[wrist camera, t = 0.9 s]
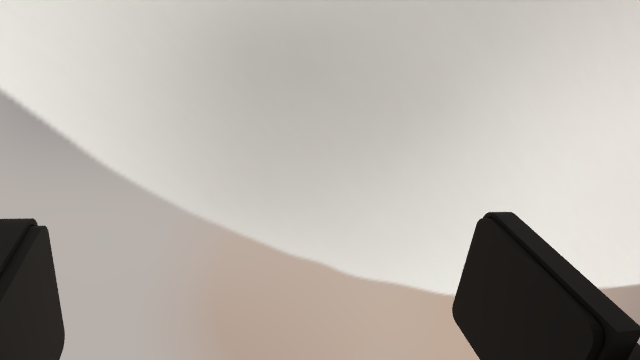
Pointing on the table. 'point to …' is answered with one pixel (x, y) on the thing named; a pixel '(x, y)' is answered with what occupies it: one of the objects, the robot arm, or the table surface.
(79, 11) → the table surface
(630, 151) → the table surface
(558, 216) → the table surface
